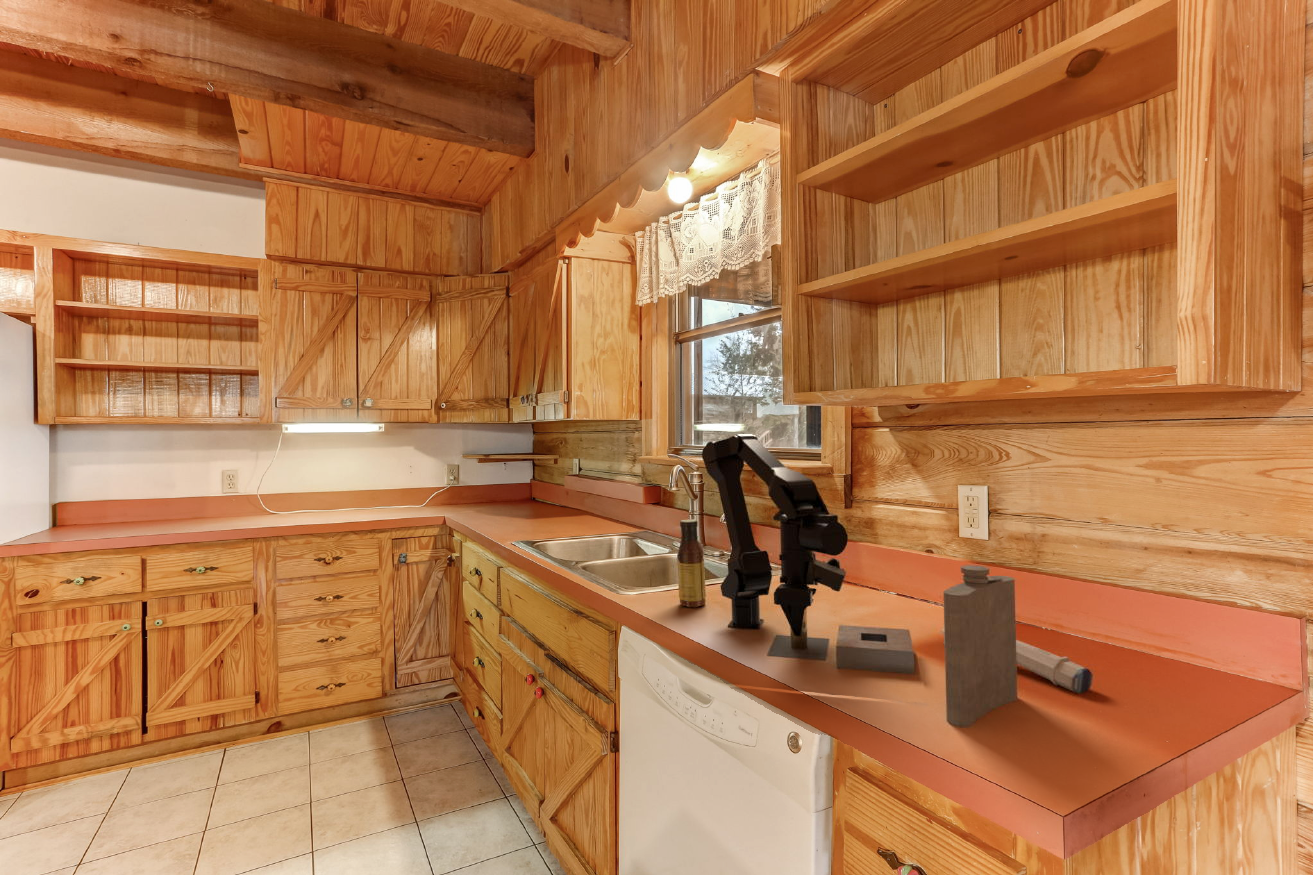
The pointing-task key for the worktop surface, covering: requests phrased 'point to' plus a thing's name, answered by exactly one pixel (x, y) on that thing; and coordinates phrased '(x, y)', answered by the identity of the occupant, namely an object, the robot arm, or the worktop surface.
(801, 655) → the mat
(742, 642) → the worktop surface
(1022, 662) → the flashlight
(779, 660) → the worktop surface
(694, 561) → the sauce bottle
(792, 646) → the pin
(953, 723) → the hip flask
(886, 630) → the block
